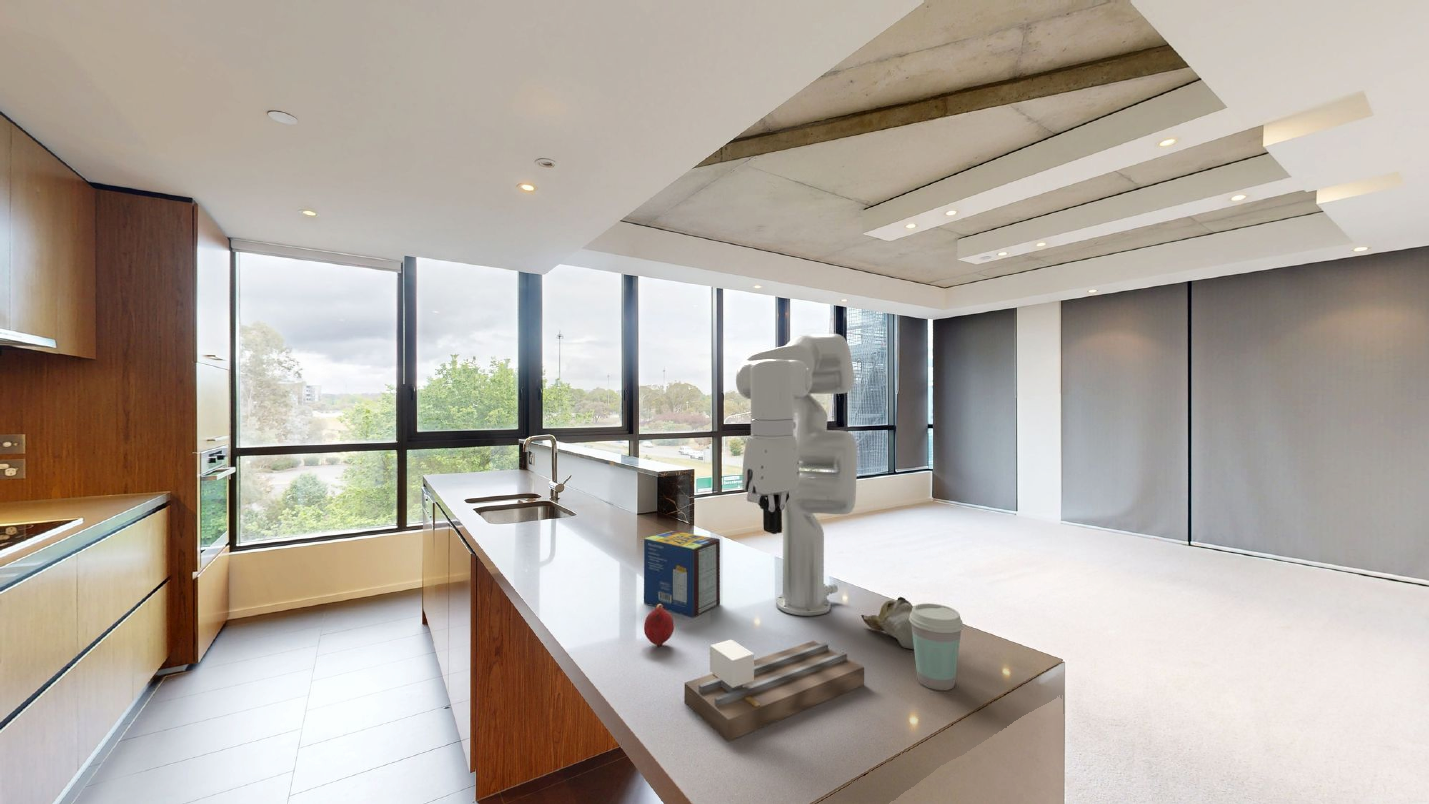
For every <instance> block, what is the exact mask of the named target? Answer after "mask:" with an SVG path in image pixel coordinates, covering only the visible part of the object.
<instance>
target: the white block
mask: <svg viewBox="0 0 1429 804" xmlns="http://www.w3.org/2000/svg"><path fill="white" fill-rule="evenodd" d="M709 646H710V647H709V649H710V650H709V652H710V653H709V672H710V673H711V674H715V675H716V676H717V677H719V678H720V679H721V687H722V688H724V689H725V690H726V691H727V692H732V691H735V690H738V689H741V688H743V684H745V683H748V682H751V681H753V680H754V660H755V653H754V652H752V651H750V650H748V649H747V648H746V647H744V646H742V645H741V644H739V643H738V642H737V641H735V640H732V639H728V640H724V641H721V642H718V643H713V644H711V645H709Z"/></svg>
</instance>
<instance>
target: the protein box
mask: <svg viewBox="0 0 1429 804" xmlns="http://www.w3.org/2000/svg"><path fill="white" fill-rule="evenodd" d="M643 547H644V548H643V603H644V604H646V605H648V606H649V605H650V606H653V607H655V608H656V607H657V605H658V604H662V605H663V609H664V610H666V611H669V612H673V613H675V614H679V615H683V616H685V617H689V618H692V619H693V618H696V617H698V616H700V615H702V614H703V613H705V612H707V611H709V610H711V609H713V608H715V607H717V606H719V605H720V604H721V540H720V538H716V537H711V536H710V537H709V536H705V535H699V534H694V533H693V534H692V533H687V532H682V531H676V530H669V531H664V532H662V533H659V534H658V533H657V534H655V535H651V536H647V537H645V538H644V539H643Z"/></svg>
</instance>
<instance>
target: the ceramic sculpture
mask: <svg viewBox="0 0 1429 804" xmlns="http://www.w3.org/2000/svg"><path fill="white" fill-rule="evenodd" d="M913 607H914V606H913V604H912V603H911V602H910V601H909V600H907V599H906V598H904V597H902V596H899V597H898V598H897V599H890V600H887V601H885V602H884V603H883V604H882V605H881V608H880V610H879V614H878V615H877V614H876V615H875V614H873V615H872V614H871V615H864V614H861V615H860V616H861V618H862V620H863V622H864V623H865V624H866V625H867V626H868V628H870V629H872V630H874V631H879V632H884V633H885V634H887V635H889V636H891V637H892V638H894V639H896V640H897V641H898V643H899V644H900V646H901V647H903V648H904V649H911V650H914V643H913V634H912V625H911V622H910V621H909V617H910V613H911V612H912V608H913Z"/></svg>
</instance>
